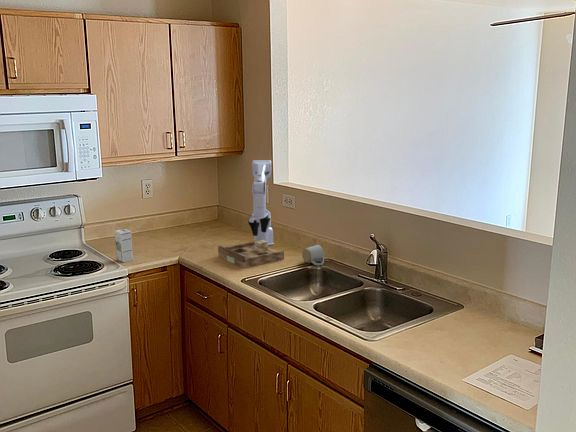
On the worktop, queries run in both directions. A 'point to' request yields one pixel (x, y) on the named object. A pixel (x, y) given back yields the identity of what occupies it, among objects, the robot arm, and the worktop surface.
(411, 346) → the worktop surface
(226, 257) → the trap box
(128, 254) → the syrup box
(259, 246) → the maple block
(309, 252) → the ceramic mug
